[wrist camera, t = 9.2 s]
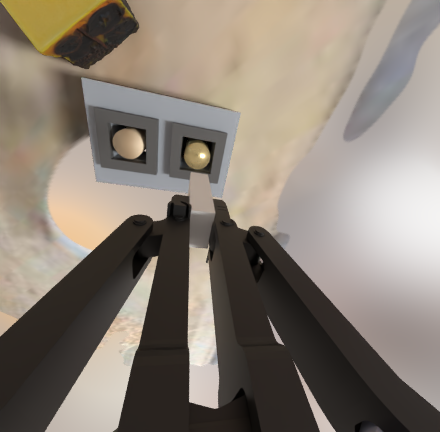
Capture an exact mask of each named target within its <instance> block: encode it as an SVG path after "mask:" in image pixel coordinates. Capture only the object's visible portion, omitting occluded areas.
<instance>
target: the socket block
mask: <svg viewBox="0 0 440 432" xmlns="http://www.w3.org/2000/svg"><path fill="white" fill-rule="evenodd" d="M81 80H82V87H83V94H84V101H85V107H86V114H87V121H88V128H89V135H90V142H91V149H92V156H93V162H94V169H95V176H96V181H97V182H103V183H111V184H119V185H126V186H134V187H143V188H151V189H158V190H166V191H173V192H181V193H188V190H189V182H190V175H191V172H195V173H201V174H207V175H208V177H209V182H210V188H211V193H212V197H220V198H222V195H223V191H224V186H225V182H226V177H227V173H228V168H229V164H230V159H231V154H232V150H233V145H234V141H235V136H236V132H237V127H238V123H239V118H240V114H241V113H239V112H236V111H233V110H228V109H224V108H219V107H215V106H210V105H206V104H201V103H197V102H192V101H188V100H184V99H179V98H175V97H170V96H166V95H161V94H157V93H152V92H148V91H143V90H139V89H134V88H130V87H126V86H121V85H117V84H112V83H108V82H103V81H98V80H93V79H88V78H83V77H81ZM125 126H130V127H135V128H141V129H146V152H145V151H143V152H142V153H141V154H140V155H139V156H138V157H137V158H134V159H127V158H124V157H122V156H121V155H119V154H118V153H117V151H116V150H115V148H114V146H113V137H114V135H115V133H116V132H118V131H120V130H122V129H125ZM184 137H189V138H194V139H200V140H205V141H211V146H210V161H209V163H208V164H207V166H205V167H204V168H202V169H193V168H191V167H189V166H188V165H187V163H186V162H185V159H184V158H182V153H183V142H184Z"/></svg>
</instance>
